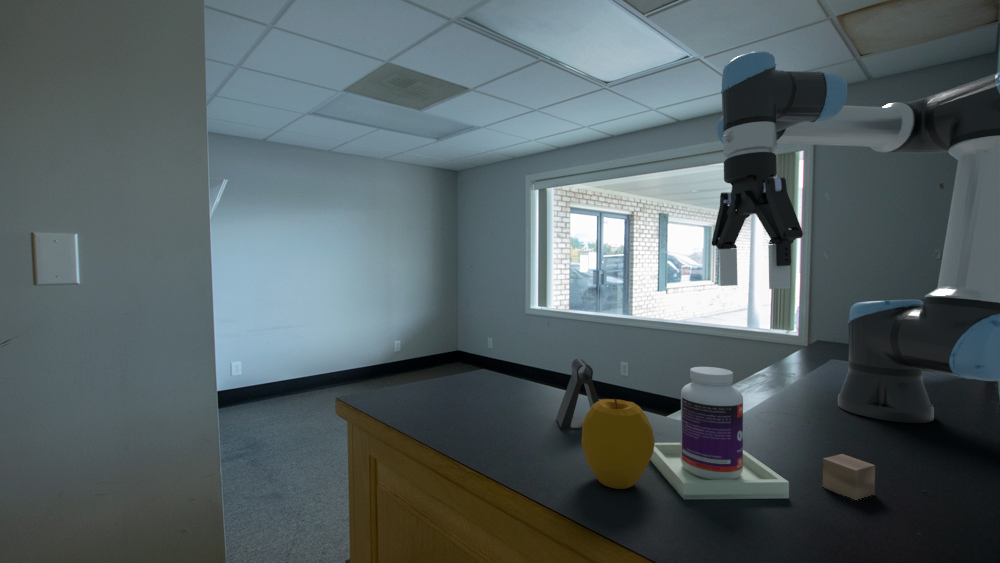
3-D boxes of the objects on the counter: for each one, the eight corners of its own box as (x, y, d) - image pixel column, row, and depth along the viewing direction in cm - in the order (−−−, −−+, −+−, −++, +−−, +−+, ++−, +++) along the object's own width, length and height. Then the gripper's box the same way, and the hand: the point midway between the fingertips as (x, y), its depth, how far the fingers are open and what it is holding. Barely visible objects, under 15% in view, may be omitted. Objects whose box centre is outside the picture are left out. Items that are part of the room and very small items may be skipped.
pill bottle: (751, 486, 60) (752, 378, 60) (686, 481, 61) (687, 375, 61) (732, 461, 68) (733, 365, 68) (675, 457, 69) (676, 363, 69)
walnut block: (841, 482, 63) (842, 453, 63) (874, 495, 59) (875, 465, 59) (822, 487, 61) (822, 458, 61) (855, 501, 57) (855, 470, 57)
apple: (650, 471, 66) (651, 391, 66) (658, 504, 57) (659, 411, 56) (582, 464, 68) (583, 387, 68) (579, 495, 59) (579, 406, 58)
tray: (732, 455, 72) (732, 442, 72) (788, 498, 58) (789, 482, 58) (646, 456, 71) (646, 442, 71) (683, 499, 58) (683, 483, 58)
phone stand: (560, 429, 83) (560, 365, 83) (556, 419, 89) (556, 358, 89) (609, 429, 83) (609, 364, 83) (601, 419, 89) (602, 358, 89)
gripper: (690, 172, 85) (693, 285, 86) (777, 133, 61) (780, 291, 61) (729, 172, 86) (731, 283, 86) (831, 131, 61) (834, 289, 61)
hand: (752, 287), depth 74 cm, fingers open, 13 cm apart
